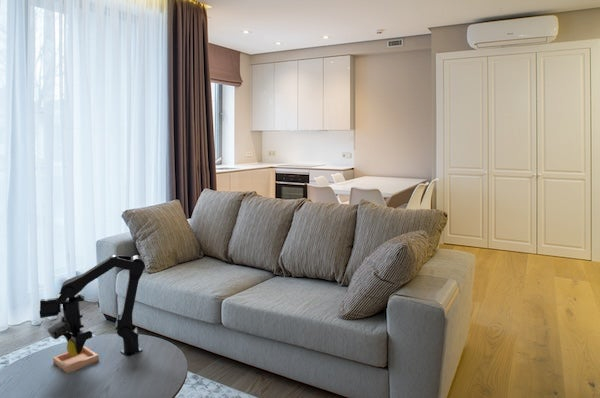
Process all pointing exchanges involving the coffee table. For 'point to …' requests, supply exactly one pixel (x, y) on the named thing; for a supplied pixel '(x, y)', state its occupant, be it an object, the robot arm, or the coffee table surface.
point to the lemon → (71, 348)
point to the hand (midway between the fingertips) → (75, 351)
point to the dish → (75, 360)
